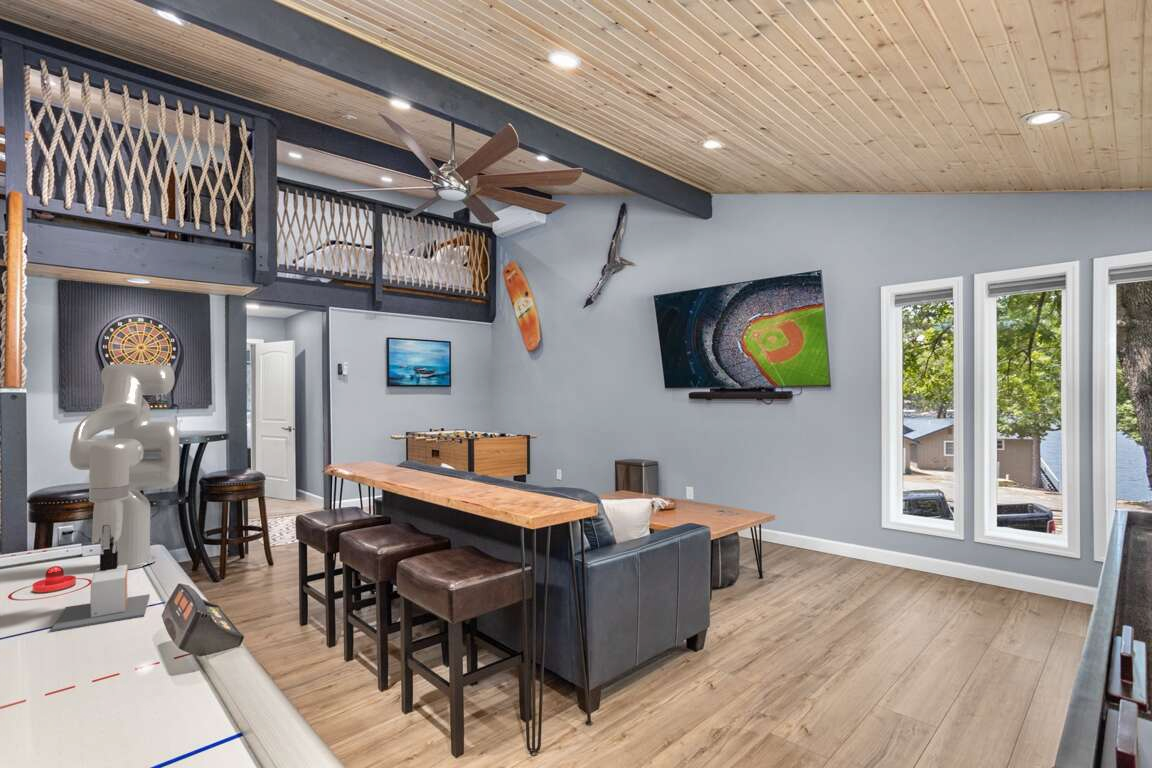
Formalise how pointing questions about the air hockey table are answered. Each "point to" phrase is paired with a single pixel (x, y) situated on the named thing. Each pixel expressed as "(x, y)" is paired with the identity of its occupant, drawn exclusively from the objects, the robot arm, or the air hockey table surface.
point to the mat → (82, 616)
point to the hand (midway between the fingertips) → (108, 569)
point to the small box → (109, 591)
